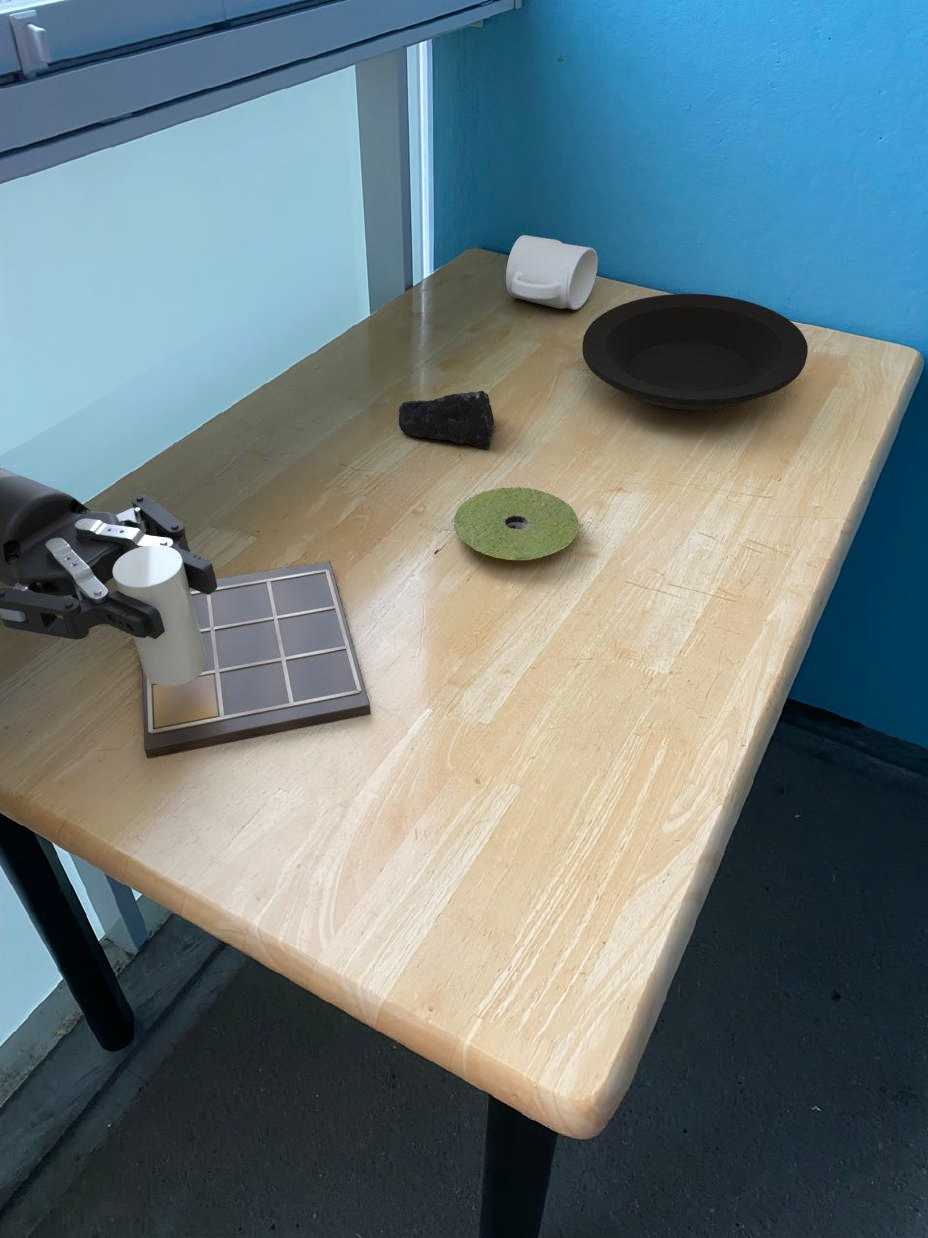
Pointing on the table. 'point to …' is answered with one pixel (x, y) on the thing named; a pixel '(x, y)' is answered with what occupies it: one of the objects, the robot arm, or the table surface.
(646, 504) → the table surface
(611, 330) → the plate
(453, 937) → the table surface
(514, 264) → the mug
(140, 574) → the tall white cylinder
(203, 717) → the board
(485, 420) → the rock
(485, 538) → the green grinding disc
